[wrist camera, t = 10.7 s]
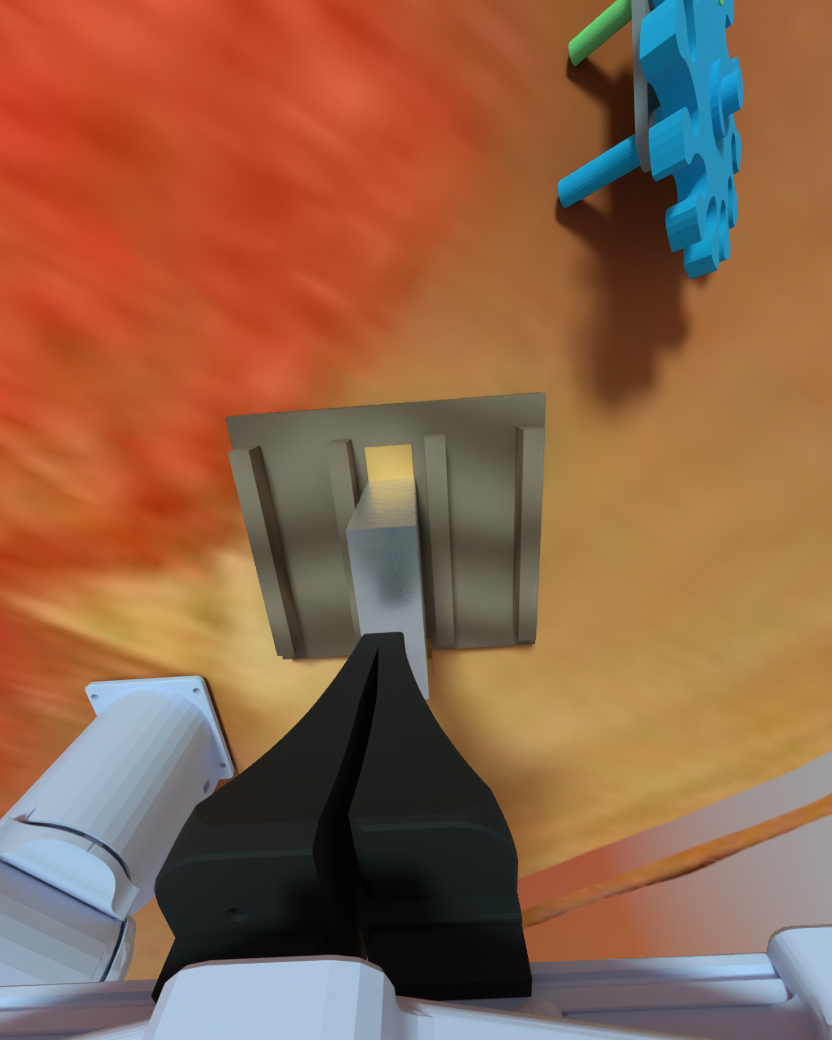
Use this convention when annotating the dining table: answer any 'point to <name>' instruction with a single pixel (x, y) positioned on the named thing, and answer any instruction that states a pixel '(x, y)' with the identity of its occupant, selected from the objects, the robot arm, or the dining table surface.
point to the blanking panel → (390, 568)
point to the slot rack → (441, 515)
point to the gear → (675, 119)
